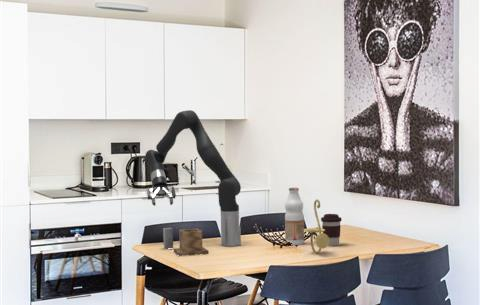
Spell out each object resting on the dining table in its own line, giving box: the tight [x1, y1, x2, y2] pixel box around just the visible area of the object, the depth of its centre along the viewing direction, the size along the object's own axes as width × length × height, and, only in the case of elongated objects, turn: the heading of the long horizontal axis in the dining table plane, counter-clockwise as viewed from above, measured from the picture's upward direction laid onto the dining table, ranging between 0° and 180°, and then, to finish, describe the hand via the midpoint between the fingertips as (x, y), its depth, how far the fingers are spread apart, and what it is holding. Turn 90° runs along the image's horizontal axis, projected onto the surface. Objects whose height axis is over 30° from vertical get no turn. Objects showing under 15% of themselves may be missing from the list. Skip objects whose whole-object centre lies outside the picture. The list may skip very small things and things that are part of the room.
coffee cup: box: [320, 213, 342, 247], centre depth 297 cm, size 10×10×15 cm
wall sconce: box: [304, 198, 329, 255], centre depth 275 cm, size 14×10×25 cm
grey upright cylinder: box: [162, 227, 174, 250], centre depth 296 cm, size 4×4×10 cm
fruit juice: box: [284, 187, 305, 246], centre depth 303 cm, size 9×9×28 cm
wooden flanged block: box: [173, 228, 210, 257], centre depth 284 cm, size 14×12×10 cm
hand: (163, 204), depth 307 cm, fingers open, 8 cm apart
